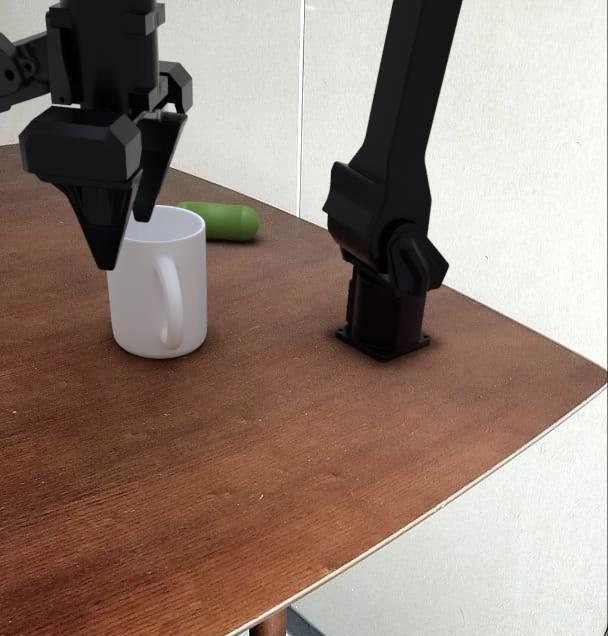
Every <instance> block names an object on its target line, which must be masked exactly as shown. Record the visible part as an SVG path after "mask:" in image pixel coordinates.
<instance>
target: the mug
mask: <svg viewBox="0 0 608 636" xmlns="http://www.w3.org/2000/svg"><path fill="white" fill-rule="evenodd" d="M206 241H207V238H206V237H205V222H204V220H203V219H202V218H201V217H200V216H199V215H197V214H196V213H194V212H192V211H189V210H186V209H182V208H178V207H176V206H171V205H162V204H161V205H160V204H156V205H155V208H154V211H153V214H152V216H151V219H150V221H149V222H148V223H143V222H137V221H135V219H134V215H133V211H131V214H130V218H129V222H128V225H127V229H126V233H125V236H124V240H123V243H122V247H121V251H120V254H119V257H118V261H117V264H116V267H115V269H114V270H113V271H107V270H106V279H107V288H108V289H107V290H108V298H109V308H110V309H109V310H110V319H111V321H110V322H111V327H112V334H113V338H114V340H115V342H116V343H117V344H118V346H119V347H121V348H122V349H123V350H125V351H126V352H128V353H130V354H132V355H135V356H138V357H142V358H147V359H171V358H172V359H173V358H177V357H181V356H185V355H188V354H189V353H192V352H194V351H195V350H197V349H198V348H199V347H200V346H201V345H202V344H203V343H204V342H205V340H206V337H207V333H208V298H207V297H208V295H207V294H208V293H207V246H206V245H207V243H206Z"/></svg>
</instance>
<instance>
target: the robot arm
mask: <svg viewBox="0 0 608 636" xmlns="http://www.w3.org/2000/svg"><path fill="white" fill-rule="evenodd" d="M463 1H464V0H392V3H391V7H390V13H389V18H388V22H387V23H388V24H387V28H386V33H385V37H384V43H383V48H382V52H381V57H380V63H379V67H378V72H377V75H376V81H375V85H374V92H373V97H372V102H371V107H370V112H369V116H368V120H367V126H366V131H365V135H364V140H363V142H362V144H361V146H360V147H359V149H358V150H357V151H356V153H355V154H354V155H353V156H352V157H351V159H350V161H349V162H348V163H346V162H341V161H338V160H336V161H334V162H333V163H332V166H331V169H330V177H329V179H330V180H329V190H328V194H327V197H326V200H325V202H324V203H323V206H322V207H321V211H322V212H323V213H325V214H326V215H327V218H326V226H327V232H328V233H329V234H330V236H331V237H332V239H333V241H334V243H335V244H337V245H338V246H339V249H340V252H341V253H340V254H341V259H342V261H345V262H346V263H348V264H350V265H352V272H351V273H352V274H351V279H349V281H348V292H347V300H346V301H347V302H346V313H345V322H346V323H347V324H344V325H341V326H338V327H336V328H335V329H334V335H335V336H336V337H338V338H340V340H341V339H342V340H343V341H345V342H347V343H348V344H350V345H352V346H354V347H356V348H358V349H359V350H361V351H362V352H364V353H366V354H368V355H370V356H372V357H373V358H375V359H377V360H379V361H383V362H384V361H385V362H386V361H389V360H391V359H393V358H396V357H398V356H401V355H403V354H406V353H408V352H410V351H413V350H416V349H418V348H420V347H424V346H426V345H428V344H430V343H431V341H432V336H431V335H429V334H428V333H426V332H424V331H422V329H423V323H424V322H423V321H424V315H425V309H426V308H425V307H426V302H427V297H428V296H427V295H428V293H429V292H430V291H433V290H438V289H440V288H441V287H442V285H443V283H444V280H445V278H446V275H447V274H448V271H449V269H450V263H449V262H448V260H447V259H446V258H445V257H444V256H443V254H442V253H441V252H440V251H439V249H438V248H437V246H435V245H434V243H433V241H431V239H430V238H429V237H428V236H429V228H430V220H431V213H432V204H433V198H432V193H431V192H432V191H431V187H430V186H431V185H430V180H429V174H428V170H427V165H426V155H427V153H426V152H427V148H428V145H429V141H430V136H431V132H432V128H433V124H434V121H435V116H436V112H437V108H438V105H439V104H438V103H439V100H440V95H441V92H442V87H443V85H444V84H443V83H444V80H445V79H444V78H445V74H446V71H447V67H448V63H449V58H450V55H451V50H452V47H453V42H454V38H455V35H456V31H457V26H458V23H459V18H460V15H461V10H462V6H463ZM44 16H45V17H44V21H45V27H46V28H45V29H46V30H44V31H41V32H38V33H36V34H32V35H29V36H27V37H23V38H21V39H18V40H16V41H13V42H12V41H11V40H10V39H9V38H8V37H7V36H6V35H5V34H4V33H2V32H1V31H0V114H3V113H5V112H8V111H10V110H11V109H12V106H15V105H19V104H21V103H25V102H27V101H32V100H34V99H37V98H39V97H43V96H47V95H48V94H50V100H51V104H52V105H50V106H49V107H47V108H46V109H45V110H43V111H42V112H41V113H39V114H38V115H36V116H35V117H34V118H32V119H31V120H30V121H29V122H28V124H27V125H26V126H25V127H24V128H23V129H22V131H21V132H20V133H19V134H18V136H17V137H18V145H19V153H20V158H21V165H22V170H23V171H25V172H26V173H27V174H33V175H34V176H35V177H36V178H37V179H38V180H39V181H40V182H43V183H45V184H51V186H53V187H54V188H56V189H57V190H58V191H60V192H61V193H62V194H64V196H65V197H66V198H67V200H68V202H69V204H70V206H71V208H72V210H73V213H74V215H75V217H76V219H77V222H78V224H79V226H80V228H81V231H82V234H83V237H84V239H85V241H86V243H87V245H88V248H89V251H90V253H91V255H92V258H93V260H94V262H95V265H96V268H97V269H98V270H101V271H106V272H107V271H113V270H114V269H115V267H116V264H117V261H118V257H119V254H120V251H121V247H122V243H123V240H124V236H125V233H126V229H127V225H128V222H129V218H130V214H131V211H133V215H134V219H135V221H137V222H143V223H148V222H149V221H150V219H151V216H152V214H153V211H154V208H155V205H157V203H158V199H159V198H160V197H159V196H160V194H161V192H162V189H163V186H164V182H165V180H166V177H167V174H168V172H169V169H170V166H171V164H172V161H173V158H174V155H175V153H176V150H177V147H178V144H179V142H180V139H181V138H182V137H181V136H182V134H183V132H184V128H185V126H186V124H187V123H188V119H189V115H188V114H187V113H188V112H189V111H190V110H191V108H192V107H193V106H194V102H193V101H194V90H193V89H194V88H193V87H194V86H193V84H194V83H193V77H192V75H190V73H189V72H188V70H186V68H185V67H184V66H183V65H182V63H181V62H179V61H169V60H168V61H167V60H160V55H159V31H158V29H159V27H160V26H162V25H163V24H165V23H166V3H164V2H157V0H59V2H56V3H54V4H52V5H50V6H48V10H47V11H46V12H45V15H44ZM169 104H173V105H174V108H175V111H169ZM72 105H79V107H73V106H72ZM70 106H72V107H70Z"/></svg>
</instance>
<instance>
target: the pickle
mask: <svg viewBox="0 0 608 636" xmlns="http://www.w3.org/2000/svg"><path fill="white" fill-rule="evenodd" d="M175 207H178V208H182V209H186V210H189V211H192V212H194V213H196V214H197V215H199V216H200V217H201V218H202V219H203V220H204V222H205V237H206V239H215V240H216V239H217V240H228V241H240V242H241V241H242V242H244V241H249V240H251V239H253V238H254V237H255V236H256V235H257V233H258V231H259V228H260V219H259V216H258V214H257V213H256V211H255V210H254V209H253V208H252V207H249V206H247V205H239V204H228V203H216V202H215V203H213V202H202V201H189V200H188V201H187V200H185V201H182V202H179V203H177V205H175Z"/></svg>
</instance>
